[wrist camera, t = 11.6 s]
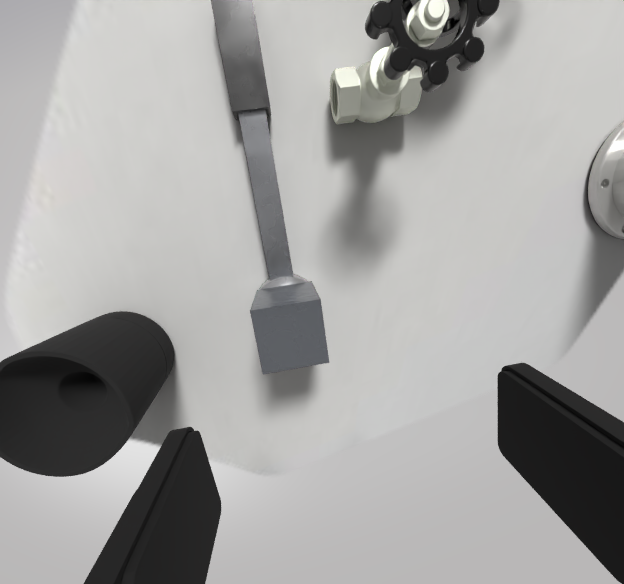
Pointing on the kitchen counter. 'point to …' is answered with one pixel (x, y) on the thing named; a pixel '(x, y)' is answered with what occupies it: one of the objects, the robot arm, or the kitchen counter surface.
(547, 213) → the kitchen counter surface
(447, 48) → the valve
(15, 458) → the pen holder
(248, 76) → the ratchet
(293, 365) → the brushed steel cube
